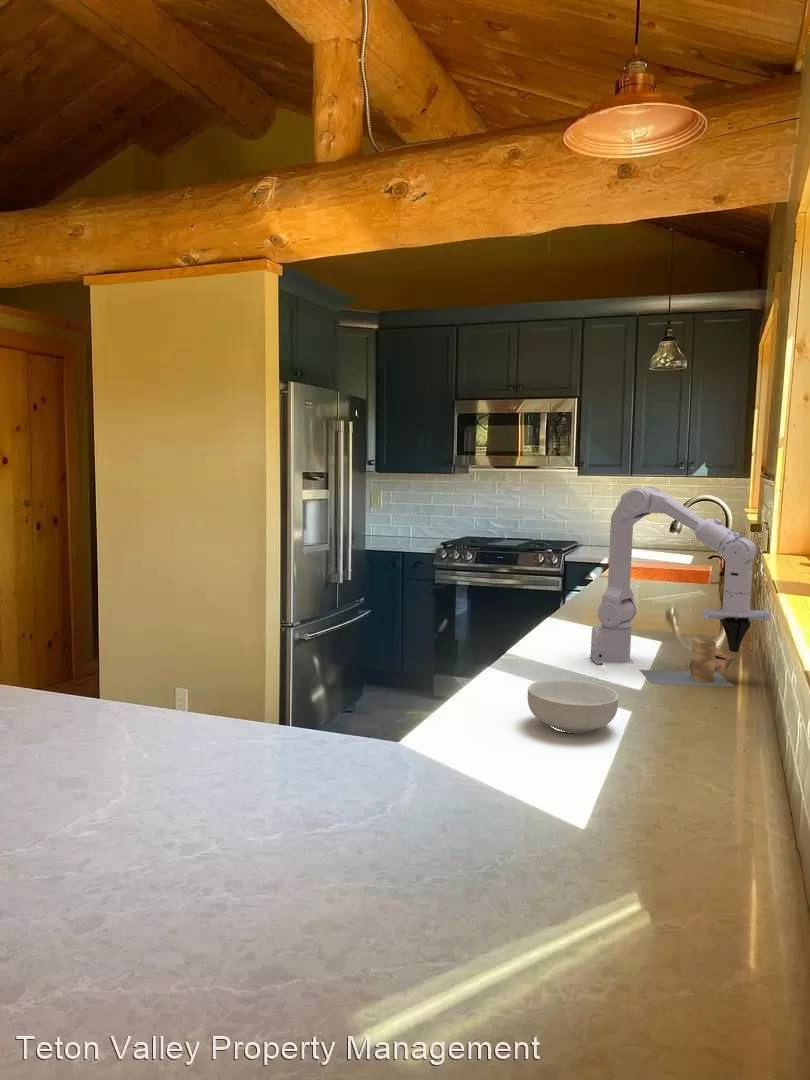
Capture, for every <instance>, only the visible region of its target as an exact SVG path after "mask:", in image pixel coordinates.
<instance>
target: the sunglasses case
mask: <svg viewBox="0 0 810 1080" xmlns="http://www.w3.org/2000/svg"><path fill="white" fill-rule="evenodd" d="M733 660H735V658H734V657H733V656H731V655H729V654H727V653H726V652H723V651H721V650H719V649H718V648H717V647H716V653H715V671H714V672H725V671H726V670H727V669H728V667H729V665H730V664H731V662H733ZM689 669H691V662H690V664H689Z"/></svg>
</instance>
